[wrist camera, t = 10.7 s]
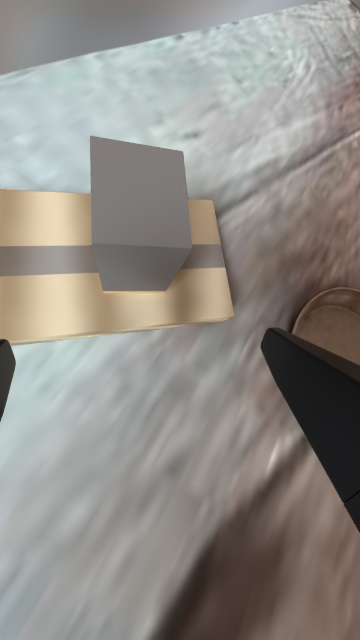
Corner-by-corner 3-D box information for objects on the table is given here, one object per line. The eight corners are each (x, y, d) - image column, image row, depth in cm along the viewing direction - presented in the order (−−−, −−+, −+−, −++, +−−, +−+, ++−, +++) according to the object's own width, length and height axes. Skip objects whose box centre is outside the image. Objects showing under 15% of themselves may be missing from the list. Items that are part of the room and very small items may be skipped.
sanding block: (164, 293, 20) (192, 248, 12) (103, 293, 18) (91, 242, 11) (159, 230, 21) (182, 151, 13) (101, 225, 19) (90, 135, 12)
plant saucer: (261, 294, 26) (279, 286, 23) (373, 293, 31) (400, 286, 28) (286, 461, 23) (311, 475, 20) (407, 432, 28) (441, 440, 25)
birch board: (202, 218, 26) (212, 200, 23) (220, 321, 24) (234, 316, 21) (-34, 212, 19) (-61, 186, 17) (-34, 350, 18) (-64, 348, 15)
